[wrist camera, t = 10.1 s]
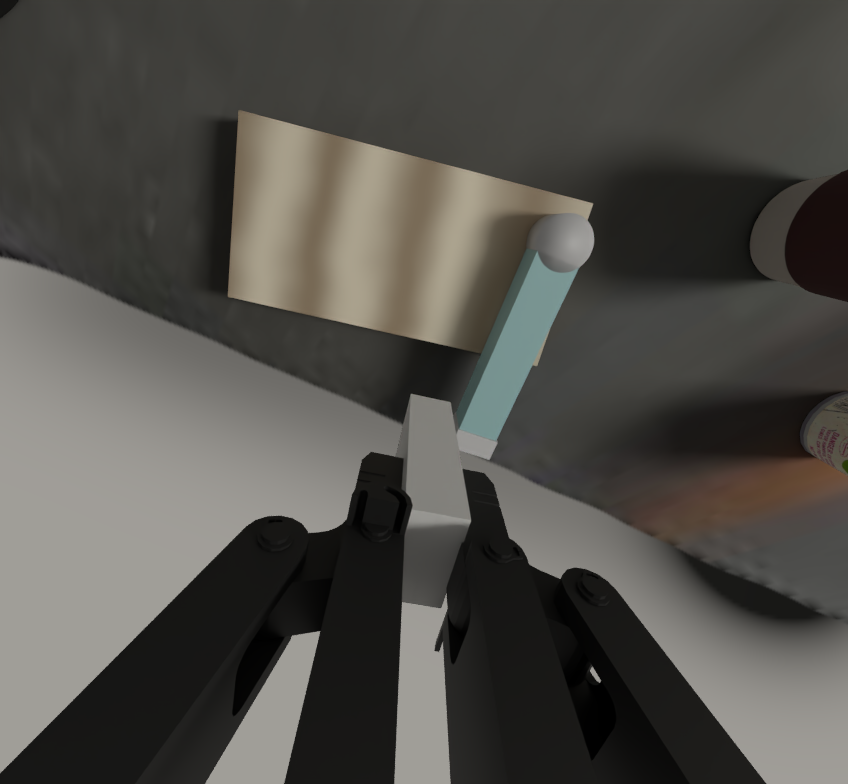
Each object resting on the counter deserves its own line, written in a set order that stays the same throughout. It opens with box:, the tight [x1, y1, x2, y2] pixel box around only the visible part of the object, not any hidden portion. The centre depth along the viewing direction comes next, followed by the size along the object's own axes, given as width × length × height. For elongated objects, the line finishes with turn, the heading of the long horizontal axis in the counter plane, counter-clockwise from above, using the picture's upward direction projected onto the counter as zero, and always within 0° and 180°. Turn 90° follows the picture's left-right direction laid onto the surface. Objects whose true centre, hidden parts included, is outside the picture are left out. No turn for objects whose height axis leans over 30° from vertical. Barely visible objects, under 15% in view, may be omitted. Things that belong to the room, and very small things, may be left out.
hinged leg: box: [453, 213, 594, 460], centre depth 30 cm, size 18×4×3 cm, turn 160°
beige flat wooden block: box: [228, 110, 593, 366], centre depth 31 cm, size 24×12×3 cm, turn 77°
